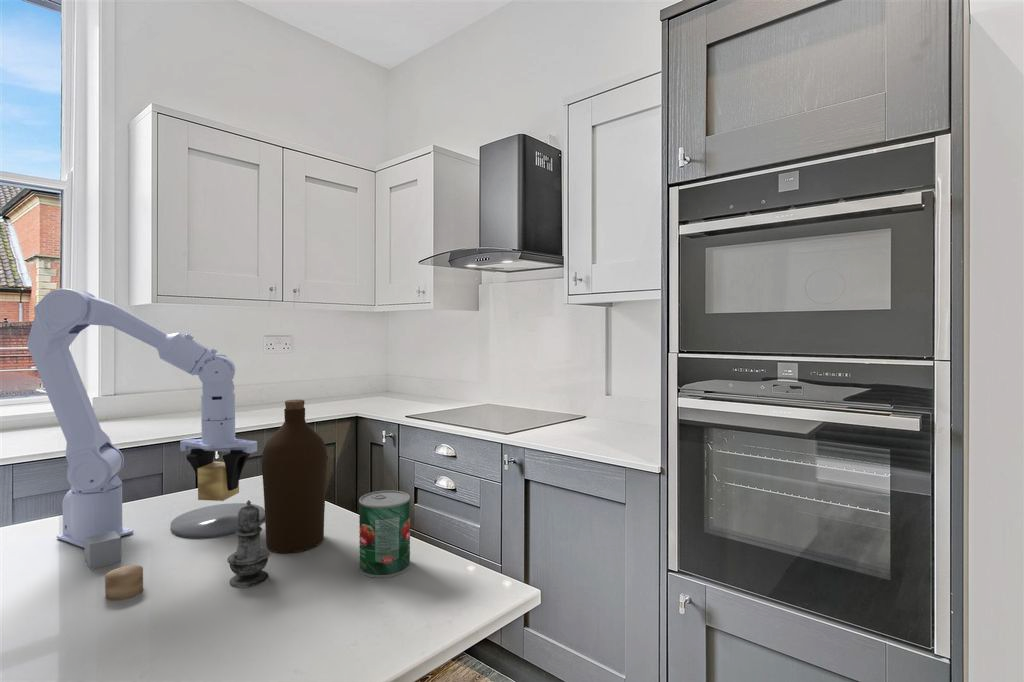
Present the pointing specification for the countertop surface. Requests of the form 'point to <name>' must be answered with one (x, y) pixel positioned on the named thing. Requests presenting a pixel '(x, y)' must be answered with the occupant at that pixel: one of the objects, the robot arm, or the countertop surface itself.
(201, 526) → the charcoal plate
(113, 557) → the slate grey block
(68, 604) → the countertop surface
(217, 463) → the ochre block
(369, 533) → the canned tomato
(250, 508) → the salt shaker
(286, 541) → the olive oil
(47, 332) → the robot arm
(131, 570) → the oak cylinder
